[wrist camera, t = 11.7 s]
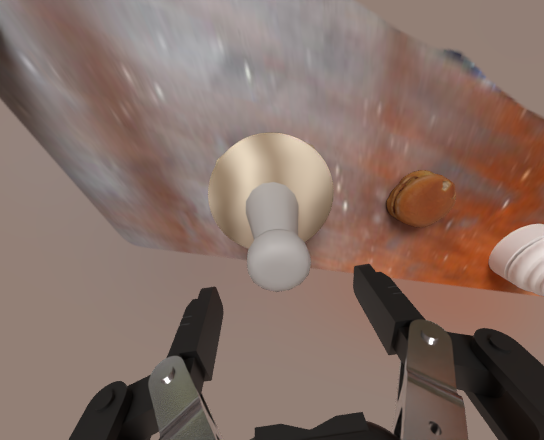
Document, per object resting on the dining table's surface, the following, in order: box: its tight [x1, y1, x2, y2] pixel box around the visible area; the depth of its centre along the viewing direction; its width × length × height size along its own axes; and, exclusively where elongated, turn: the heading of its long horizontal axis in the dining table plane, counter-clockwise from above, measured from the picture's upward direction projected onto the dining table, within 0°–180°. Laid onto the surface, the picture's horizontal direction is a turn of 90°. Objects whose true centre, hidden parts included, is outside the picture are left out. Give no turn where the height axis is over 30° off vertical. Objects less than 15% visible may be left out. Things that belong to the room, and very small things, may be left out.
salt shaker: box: [246, 182, 311, 292], centre depth 18 cm, size 6×6×13 cm
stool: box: [208, 132, 333, 249], centre depth 29 cm, size 15×15×10 cm
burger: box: [387, 170, 456, 227], centre depth 34 cm, size 10×9×5 cm
